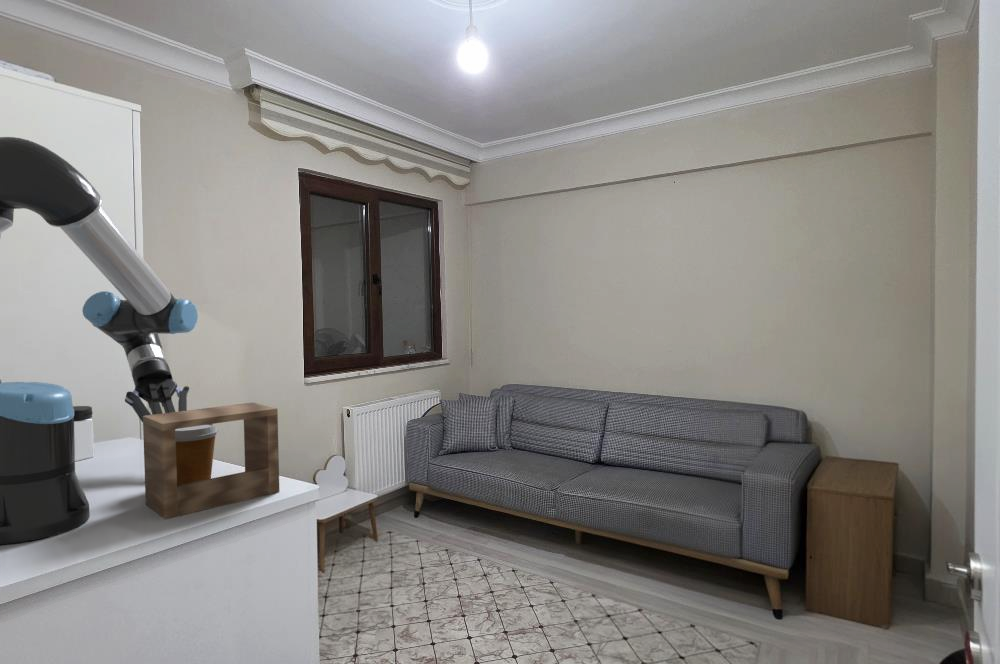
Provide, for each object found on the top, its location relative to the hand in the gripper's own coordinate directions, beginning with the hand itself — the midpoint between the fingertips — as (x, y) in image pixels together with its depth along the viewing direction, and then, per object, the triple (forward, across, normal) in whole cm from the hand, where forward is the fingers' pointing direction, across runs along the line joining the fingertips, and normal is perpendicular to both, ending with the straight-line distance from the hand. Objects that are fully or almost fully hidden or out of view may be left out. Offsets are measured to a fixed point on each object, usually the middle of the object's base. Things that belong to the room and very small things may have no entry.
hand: (176, 452), depth 124 cm
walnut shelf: (+18, 0, +11) cm, 22 cm away
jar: (-21, +12, -29) cm, 38 cm away
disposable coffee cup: (+11, 0, +3) cm, 11 cm away
